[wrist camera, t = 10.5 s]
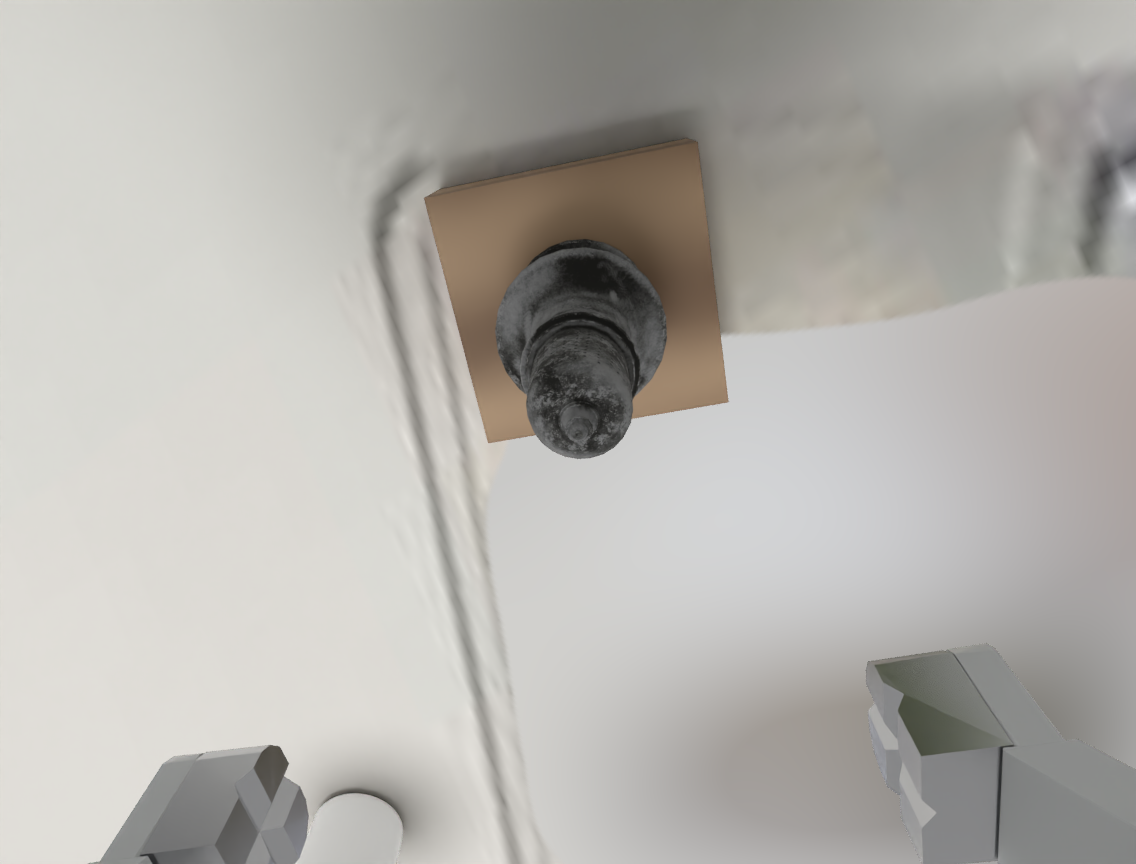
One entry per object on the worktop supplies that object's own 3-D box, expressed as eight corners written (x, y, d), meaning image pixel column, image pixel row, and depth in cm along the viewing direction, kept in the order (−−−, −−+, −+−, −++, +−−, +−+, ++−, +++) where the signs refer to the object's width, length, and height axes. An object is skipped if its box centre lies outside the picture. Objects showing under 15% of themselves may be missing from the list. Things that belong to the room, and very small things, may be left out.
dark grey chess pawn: (550, 404, 30) (530, 574, 19) (477, 275, 28) (409, 386, 17) (682, 340, 29) (741, 484, 18) (616, 201, 27) (637, 270, 16)
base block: (438, 189, 30) (423, 198, 27) (686, 138, 29) (697, 142, 26) (496, 415, 34) (488, 443, 31) (716, 377, 33) (728, 402, 30)
